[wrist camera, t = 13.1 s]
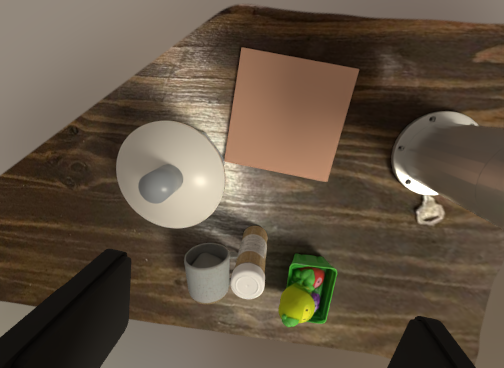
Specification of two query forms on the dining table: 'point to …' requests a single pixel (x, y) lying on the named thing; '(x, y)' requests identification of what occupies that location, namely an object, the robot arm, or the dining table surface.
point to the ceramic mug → (208, 272)
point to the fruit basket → (307, 291)
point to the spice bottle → (250, 264)
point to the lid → (170, 174)
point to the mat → (288, 113)
